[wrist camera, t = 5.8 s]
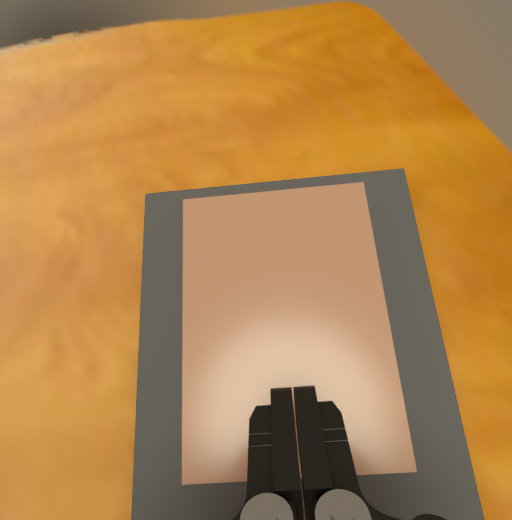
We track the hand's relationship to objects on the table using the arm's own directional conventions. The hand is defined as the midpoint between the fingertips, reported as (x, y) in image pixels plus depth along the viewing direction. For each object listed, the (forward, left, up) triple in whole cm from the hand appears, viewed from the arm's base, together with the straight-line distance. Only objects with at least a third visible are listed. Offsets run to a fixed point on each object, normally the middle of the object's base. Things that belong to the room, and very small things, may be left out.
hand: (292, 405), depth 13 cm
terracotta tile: (-1, -3, -6) cm, 6 cm away
